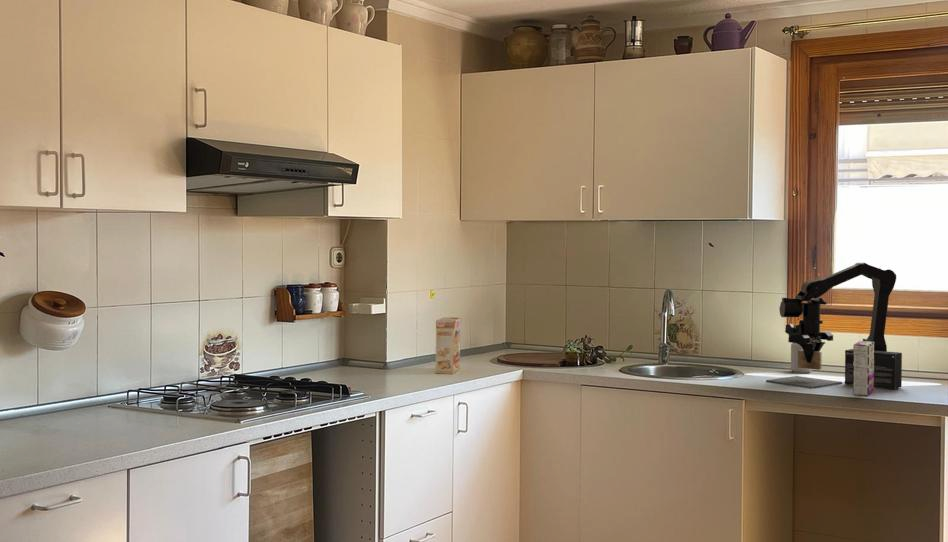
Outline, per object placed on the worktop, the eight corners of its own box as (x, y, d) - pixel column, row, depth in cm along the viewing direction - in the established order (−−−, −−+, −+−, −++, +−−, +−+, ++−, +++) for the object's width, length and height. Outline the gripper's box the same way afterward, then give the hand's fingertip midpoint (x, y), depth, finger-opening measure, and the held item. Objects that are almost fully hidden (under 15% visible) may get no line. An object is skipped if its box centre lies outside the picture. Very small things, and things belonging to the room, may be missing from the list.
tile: (821, 369, 322) (821, 352, 322) (818, 369, 321) (818, 352, 321) (800, 366, 329) (800, 349, 328) (797, 367, 327) (798, 350, 327)
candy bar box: (857, 390, 309) (858, 340, 308) (874, 391, 306) (875, 341, 306) (851, 394, 299) (852, 343, 299) (868, 396, 297) (869, 344, 296)
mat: (842, 383, 323) (842, 382, 323) (812, 388, 312) (812, 386, 312) (796, 377, 337) (796, 375, 337) (766, 381, 326) (766, 380, 326)
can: (793, 370, 356) (794, 338, 356) (813, 371, 352) (814, 340, 352) (788, 372, 350) (788, 340, 350) (808, 374, 346) (809, 341, 345)
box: (902, 387, 314) (902, 351, 313) (895, 390, 309) (895, 354, 309) (851, 381, 326) (851, 347, 325) (844, 384, 321) (844, 350, 320)
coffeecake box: (453, 374, 339) (454, 320, 338) (434, 373, 340) (434, 320, 339) (461, 368, 354) (461, 317, 353) (442, 368, 355) (442, 316, 354)
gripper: (805, 314, 336) (805, 358, 337) (775, 317, 325) (774, 361, 325) (834, 316, 327) (833, 361, 328) (803, 319, 316) (803, 365, 316)
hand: (810, 362), depth 324 cm, fingers closed on tile, 2 cm apart
